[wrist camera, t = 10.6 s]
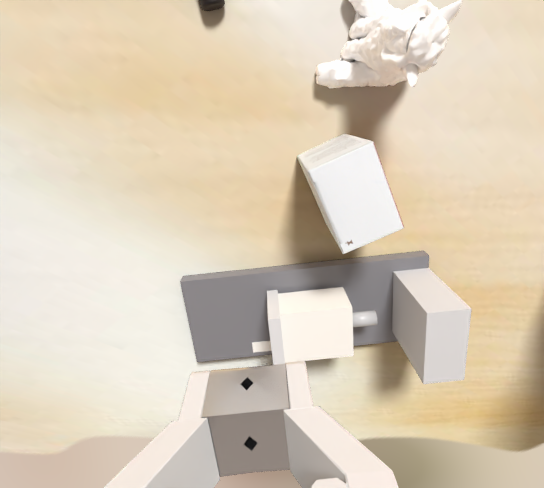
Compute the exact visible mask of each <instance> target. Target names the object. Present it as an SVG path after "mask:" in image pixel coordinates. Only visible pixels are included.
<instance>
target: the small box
mask: <svg viewBox="0 0 544 488" xmlns="http://www.w3.org/2000/svg"><path fill="white" fill-rule="evenodd" d="M297 159H298V161H299V163H300V165H301V168H302V170H303V172H304V174H305V177H306V179H307V181H308V184H309V186H310V188H311V190H312V193H313V195H314V197H315V200H316V202H317V204H318V207H319V209H320V211H321V214H322V216H323V218H324V221H325V223H326V224H327V226H328V228H329V230H330V232H331V234H332V236H333V237H334V239H335V241H336V243H337V244H338V246H339V248H340V250H341V252H342V254H345V253H348V252H350V251H352V250H355V249H357V248H359V247H362V246H364V245H366V244H369V243H371V242H373V241H376V240H378V239H380V238H383V237H385V236H387V235H390V234H392V233H394V232H396V231H399V230H401V229H403V228H404V225H403V223H402V220H401V217H400V214H399V212H398V209H397V206H396V203H395V201H394V198H393V195H392V192H391V189H390V187H389V184H388V181H387V178H386V175H385V173H384V170H383V167H382V164H381V161H380V159H379V156H378V153H377V150H376V148H375V145H374V142H373V141H370V140H367V139H363V138H359V137H356V136H352V135H348V134H342V135H340V136H337V137H335V138H333V139H331V140H329V141H327V142H324V143H322V144H320V145H318V146H316V147H314V148H312V149H310V150H307V151H305V152H303V153H301V154H299V155H297Z"/></svg>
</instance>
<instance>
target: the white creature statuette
mask: <svg viewBox="0 0 544 488" xmlns="http://www.w3.org/2000/svg"><path fill="white" fill-rule="evenodd" d="M348 1H349V2H351V4H352V5H353V8H354V10H355V11H356V14H355V18H354V23H353V25H352V26H351V28H350V31H349V35H350V37H351V38H352V41H347V42H346V44H345V45H344V46H343V49H342V50H341V57H340V59H339V60H334V61H332V62H329V63H322V64H319V65H317V66H316V75H317V76H316V83H317V84H319V85H323V86H328V88H335V87H336V88H341V87H343V86H346V87H355V86H359V87H360V86H362V87H365V86H367V85H368V86H385V87H386V86H388V85H391V86H394V85H395V84H397V83H398V82H402V81H407V80H408V83H409V85H410V86H411V87H414V86H415V85H416V83H417V80H418V74H419V73H422V72H425V71H427V70H428V69H429V68H430V67H432V66H434V65H436V64H437V59H438V57H439V56H440V54H441V53H442V52H443V50H444V48H445V46H446V44H447V41H448V38H449V35H450V29H449V27H448V25H447V24H449V23H450V22H451V21H452V20H453V19H454V18H455V17H456V15H457V13H458V12H459V9H460V7H461V5H462V2H463V1H457V2H455V3H452V4H450V5H448V6H446V7H444V8H442V9H440V10H439V11H438V8H437V7H434V6H433V5H432V4H431V2H427V1H426V0H419V1H418V2H417V4H413V5H411V6H408V7H407V8H406V9H404V10H400V9H399V8H393V6H392V5H390V4H389V3H388V1H387V0H348ZM341 59H343V61H341ZM344 60H345V61H344ZM353 60H355V61H353ZM351 61H353V62H351Z"/></svg>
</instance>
